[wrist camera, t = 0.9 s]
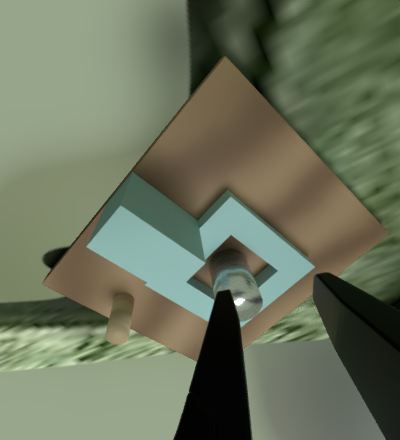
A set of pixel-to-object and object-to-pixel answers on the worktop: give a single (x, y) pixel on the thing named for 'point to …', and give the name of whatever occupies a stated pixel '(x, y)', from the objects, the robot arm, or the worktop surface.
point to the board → (211, 191)
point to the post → (236, 281)
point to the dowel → (120, 319)
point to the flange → (189, 244)
